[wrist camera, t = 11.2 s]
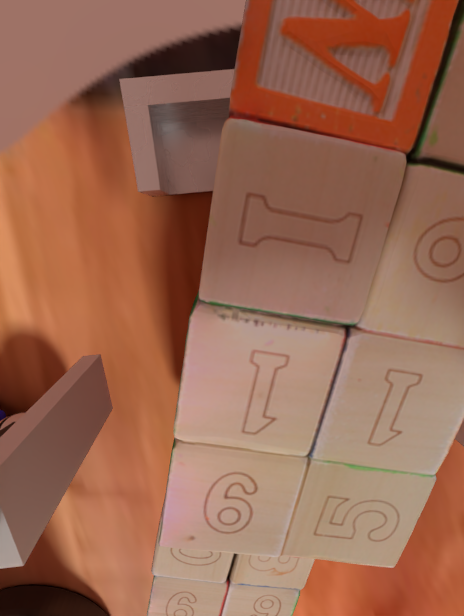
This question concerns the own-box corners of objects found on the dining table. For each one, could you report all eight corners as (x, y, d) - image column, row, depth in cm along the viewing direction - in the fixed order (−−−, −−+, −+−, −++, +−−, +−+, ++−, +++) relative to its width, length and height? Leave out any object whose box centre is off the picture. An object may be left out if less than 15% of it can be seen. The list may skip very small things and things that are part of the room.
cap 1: (317, 89, 18) (338, 59, 15) (317, 181, 19) (337, 173, 16) (138, 105, 18) (119, 79, 15) (152, 196, 19) (138, 191, 16)
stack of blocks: (258, 468, 22) (302, 765, 10) (173, 456, 21) (112, 756, 9) (348, 153, 16) (718, -44, 4) (234, 125, 15) (275, -196, 3)
